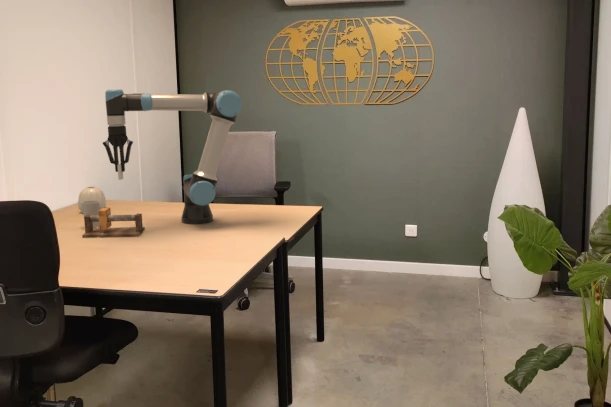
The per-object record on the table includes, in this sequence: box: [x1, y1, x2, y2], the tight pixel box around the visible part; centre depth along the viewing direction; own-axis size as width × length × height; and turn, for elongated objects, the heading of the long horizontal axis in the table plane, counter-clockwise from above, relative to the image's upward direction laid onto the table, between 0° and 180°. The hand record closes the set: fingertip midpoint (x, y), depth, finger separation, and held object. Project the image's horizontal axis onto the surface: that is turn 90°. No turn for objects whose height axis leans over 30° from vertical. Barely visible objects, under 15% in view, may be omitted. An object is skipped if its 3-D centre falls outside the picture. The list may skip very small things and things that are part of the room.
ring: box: [98, 206, 112, 230], centre depth 269 cm, size 3×8×8 cm, turn 3°
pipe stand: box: [82, 213, 146, 239], centre depth 270 cm, size 24×14×8 cm, turn 93°
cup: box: [81, 200, 99, 228], centre depth 284 cm, size 8×8×12 cm
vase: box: [77, 186, 107, 213], centre depth 319 cm, size 14×14×13 cm
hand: (120, 179), depth 268 cm, fingers closed
